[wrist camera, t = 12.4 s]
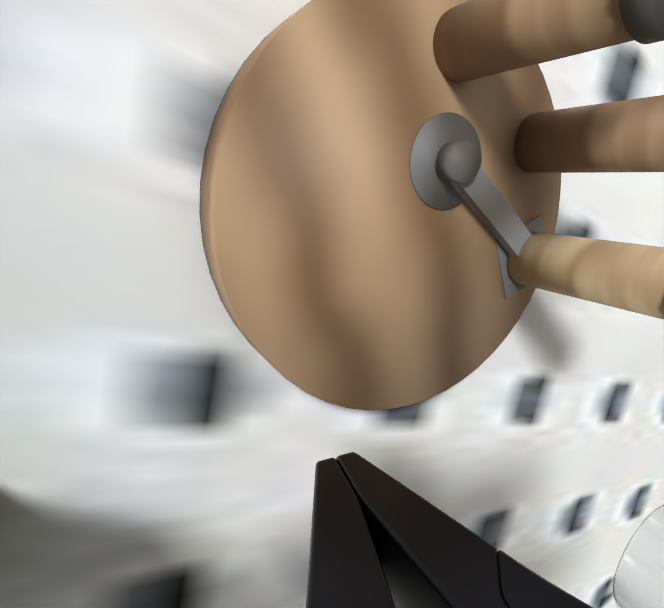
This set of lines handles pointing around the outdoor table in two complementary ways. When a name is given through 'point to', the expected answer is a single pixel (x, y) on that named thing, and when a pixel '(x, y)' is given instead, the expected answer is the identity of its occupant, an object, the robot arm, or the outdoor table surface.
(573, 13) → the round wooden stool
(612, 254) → the hinged leg
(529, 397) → the outdoor table surface
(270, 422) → the outdoor table surface
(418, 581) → the robot arm
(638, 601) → the utensil holder
